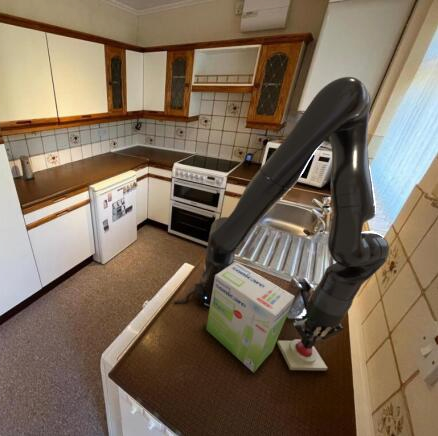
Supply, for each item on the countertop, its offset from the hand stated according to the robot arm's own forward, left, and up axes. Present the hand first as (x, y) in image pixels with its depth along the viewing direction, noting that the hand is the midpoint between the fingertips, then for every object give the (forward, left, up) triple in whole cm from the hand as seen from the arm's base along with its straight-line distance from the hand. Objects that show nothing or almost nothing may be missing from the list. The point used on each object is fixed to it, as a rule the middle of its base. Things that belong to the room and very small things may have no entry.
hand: (306, 345), depth 68 cm
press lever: (+7, +15, +2) cm, 16 cm away
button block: (0, 0, -6) cm, 6 cm away
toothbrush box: (-17, +5, -6) cm, 19 cm away
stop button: (0, 0, -2) cm, 2 cm away
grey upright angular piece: (+7, +18, -6) cm, 20 cm away
